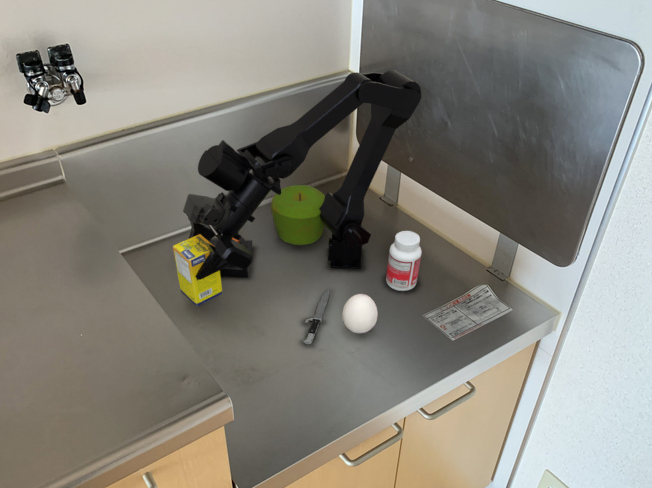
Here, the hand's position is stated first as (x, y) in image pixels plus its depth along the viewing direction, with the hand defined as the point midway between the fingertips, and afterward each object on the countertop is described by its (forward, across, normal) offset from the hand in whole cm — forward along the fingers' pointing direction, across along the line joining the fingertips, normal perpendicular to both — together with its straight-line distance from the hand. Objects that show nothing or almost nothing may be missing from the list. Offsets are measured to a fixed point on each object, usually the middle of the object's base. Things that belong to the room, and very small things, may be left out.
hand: (190, 268), depth 111 cm
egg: (-10, +19, +25) cm, 33 cm away
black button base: (0, -11, +14) cm, 18 cm away
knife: (-6, +13, +21) cm, 25 cm away
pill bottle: (-20, +12, +35) cm, 42 cm away
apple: (-13, -12, +28) cm, 33 cm away
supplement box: (+4, 0, +6) cm, 7 cm away
